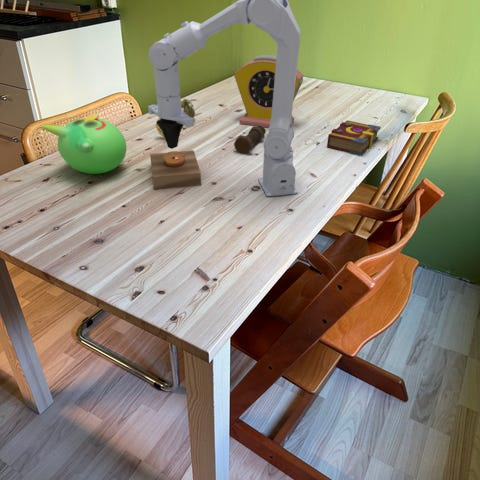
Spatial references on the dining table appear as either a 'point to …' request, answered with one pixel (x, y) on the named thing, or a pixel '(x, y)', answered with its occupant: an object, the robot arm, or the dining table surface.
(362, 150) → the decorative book
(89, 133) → the toy bird
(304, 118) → the dining table surface
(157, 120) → the ring
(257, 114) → the yellow mantel clock
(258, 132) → the bolt
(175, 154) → the orange short cylinder
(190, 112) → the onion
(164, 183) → the block
